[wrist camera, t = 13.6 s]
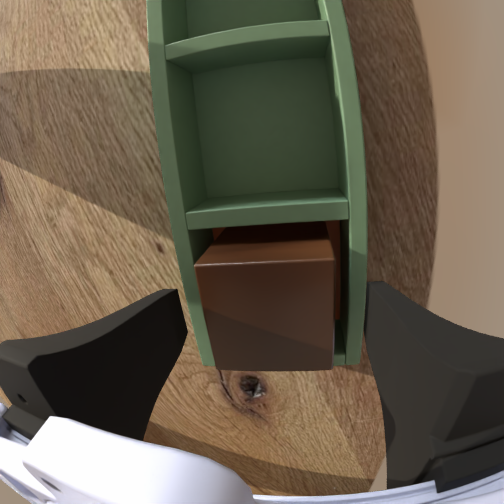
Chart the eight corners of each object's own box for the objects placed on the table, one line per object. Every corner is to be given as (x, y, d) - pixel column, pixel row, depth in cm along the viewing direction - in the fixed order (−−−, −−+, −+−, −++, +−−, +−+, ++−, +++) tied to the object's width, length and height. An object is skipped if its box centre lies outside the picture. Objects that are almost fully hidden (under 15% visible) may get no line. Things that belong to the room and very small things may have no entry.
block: (325, 220, 13) (335, 258, 9) (327, 309, 15) (333, 370, 11) (225, 226, 14) (192, 264, 10) (238, 311, 16) (215, 370, 11)
